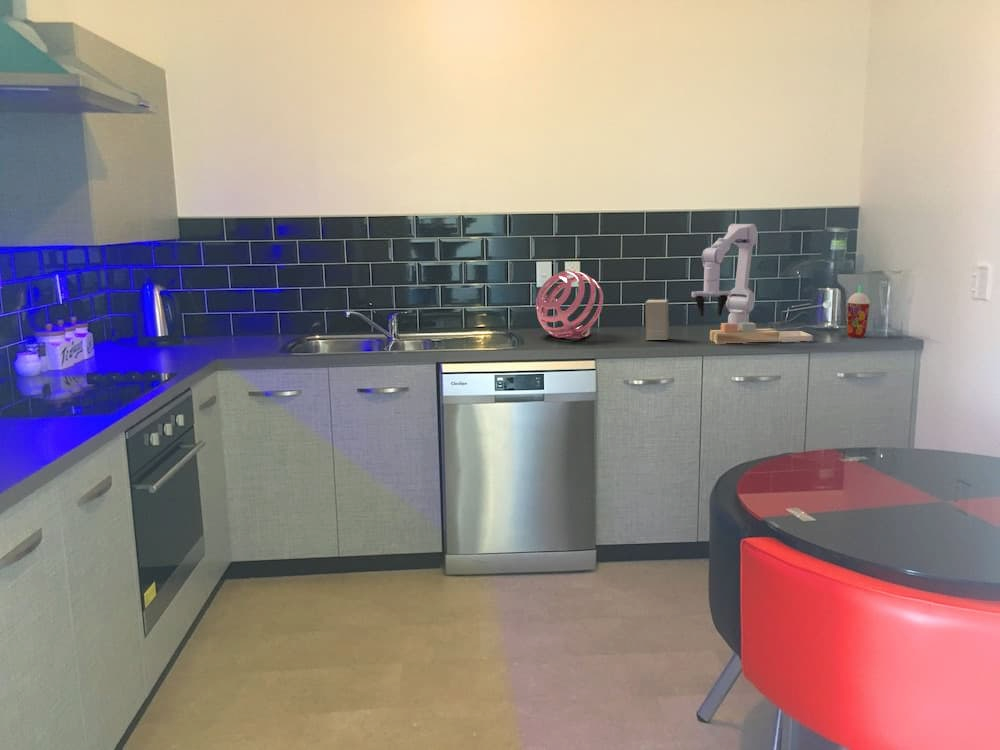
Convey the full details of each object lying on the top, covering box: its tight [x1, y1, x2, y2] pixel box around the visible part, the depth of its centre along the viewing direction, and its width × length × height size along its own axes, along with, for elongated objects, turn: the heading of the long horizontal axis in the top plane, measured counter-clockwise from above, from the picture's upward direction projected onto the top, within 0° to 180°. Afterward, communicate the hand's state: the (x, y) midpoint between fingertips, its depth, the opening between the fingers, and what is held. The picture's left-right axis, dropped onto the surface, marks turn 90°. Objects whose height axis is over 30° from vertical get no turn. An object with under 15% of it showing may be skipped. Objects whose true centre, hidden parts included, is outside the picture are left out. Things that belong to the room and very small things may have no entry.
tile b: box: [738, 321, 757, 332], centre depth 322 cm, size 5×5×3 cm
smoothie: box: [846, 285, 871, 339], centre depth 327 cm, size 8×8×20 cm
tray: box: [779, 330, 814, 343], centre depth 324 cm, size 11×12×2 cm
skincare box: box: [644, 299, 670, 341], centre depth 328 cm, size 8×7×16 cm
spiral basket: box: [535, 270, 604, 340], centre depth 338 cm, size 28×28×27 cm
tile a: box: [720, 322, 738, 333], centre depth 322 cm, size 5×5×3 cm
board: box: [709, 328, 781, 345], centre depth 323 cm, size 9×24×4 cm, turn 93°
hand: (710, 315), depth 321 cm, fingers open, 6 cm apart
